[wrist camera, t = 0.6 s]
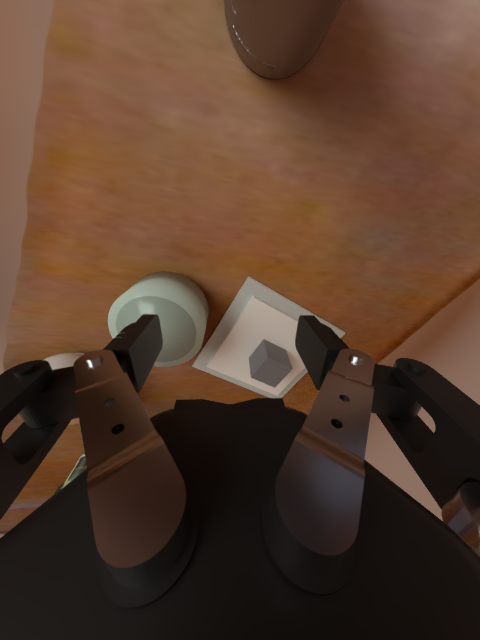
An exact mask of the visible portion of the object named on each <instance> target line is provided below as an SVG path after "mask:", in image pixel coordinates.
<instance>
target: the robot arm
mask: <svg viewBox="0 0 480 640" xmlns="http://www.w3.org/2000/svg"><path fill="white" fill-rule="evenodd" d="M343 2H344V0H224V3H225V16H226V20H227V25H228V30H229V33H230V36H231V39H232V42H233V44H234V47H235V49H236V50H237V52H238V54H239V56H240V57H241V59H242V60H243V61H244V63H245V64H246V65H247V66H248V67H249V68H250V69H251V70H253V71H254V72H255V73H257V74H258V75H260V76H263V77H266V78H269V79H280V78H284V77H288V76H290V75H292V74H293V73H295V72H297V71H299V70H300V69H301V68H302V67H303V66H304V65H305V64H306V63H307V62H308V61H309V60H310V58H311V57H312V56H313V54H314V53H315V52H316V50H317V48H318V47H319V45H320V43H321V41H322V39H323V38H324V36H325V34H326V32H327V30H328V29H329V27H330V25H331V23H332V21H333V20H334V18H335V16H336V15H337V13H338V11H339V9H340V7H341V6H342V4H343ZM162 345H163V338H162V332H161V326H160V320H159V316H158V315H157V314H143V315H142V316H141V317H140V318H139V319H138V320H137V321H136V322H135V323H131V324H130V325H128V326H126V327H124V328H123V329H122V330H121V332H120V333H119V334H118V335H117V336H116V338H114V339H113V340H112V341H111V342H110V343H109V344H108V345H107V346H106V347H105V348H104V349H103V350H96V351H92V352H89V353H87V354H84V355H82V356H81V357H79V358H78V359H77V360H76V361H75V362H74V364H73V366H71V367H65V368H60V369H55V370H52V368H51V366H50V364H49V362H48V361H45V360H35V361H29V362H26V363H22V364H19V365H17V366H15V367H12V368H10V369H9V370H7V371H5V372H4V373H3V374H1V375H0V520H1V518H2V517H3V516H4V514H5V513H6V511H7V510H8V509H9V507H10V506H11V504H12V503H13V501H14V500H15V499H16V497H17V496H18V494H19V493H20V492H21V490H22V489H23V487H24V486H25V485H26V483H27V482H28V480H29V479H30V478H31V476H32V475H33V473H34V472H35V471H36V469H37V468H38V466H39V465H40V464H41V462H42V461H43V459H44V458H45V457H46V455H47V454H48V452H49V451H50V450H51V448H52V447H53V445H54V444H55V443H56V441H57V440H58V438H59V437H60V436H61V434H62V433H63V431H64V430H65V428H66V427H67V426H68V424H69V423H70V421H71V420H72V419H76V418H79V422H80V428H81V434H82V440H83V446H84V452H85V458H86V464H87V469H86V470H84V471H83V472H82V473H81V474H79V475H78V476H77V477H76V478H74V479H73V480H72V481H71V482H69V483H68V484H67V485H66V486H65V487H63V488H62V489H61V490H60V491H58V492H57V493H56V494H55V495H53V496H52V497H51V498H50V499H48V500H47V501H46V502H45V503H43V504H42V505H41V506H40V507H39V508H37V509H36V510H35V511H34V512H32V513H31V514H30V515H29V516H27V517H26V518H25V519H24V520H22V521H21V522H20V523H19V524H17V525H16V526H15V527H14V528H13V529H11V530H10V531H9V532H8V533H6V534H5V535H4V536H3V537H1V538H0V640H480V405H478V404H477V403H476V402H475V401H473V400H472V399H471V398H470V397H468V396H467V395H466V394H464V393H463V392H462V391H461V390H459V389H458V388H457V387H455V386H454V385H453V384H452V383H451V382H449V381H448V380H447V379H445V378H444V377H443V376H442V375H440V374H439V373H438V372H437V371H435V370H434V369H433V368H431V367H430V366H428V365H426V364H424V363H422V362H419V361H417V360H413V359H408V358H400V359H397V360H396V362H395V364H394V366H393V367H390V366H384V365H379V364H375V361H374V359H373V358H372V357H371V356H370V355H368V354H366V353H364V352H362V351H359V350H356V349H350V348H349V347H348V346H347V345H346V344H345V343H344V342H343V341H342V340H341V339H340V338H339V336H338V335H337V334H335V332H334V331H333V330H332V329H331V328H330V327H328V326H327V325H325V324H323V323H320V321H319V320H318V319H317V318H316V317H315V316H314V315H300V317H299V319H298V325H297V331H296V337H295V346H296V350H297V352H298V354H299V356H300V358H301V359H302V361H303V363H304V365H305V367H306V369H307V371H308V373H309V375H310V377H311V379H312V381H313V383H314V385H315V387H316V389H317V390H319V392H318V395H317V397H316V399H315V401H314V403H313V405H312V407H311V409H310V412H309V414H308V415H306V414H304V413H302V412H300V411H298V410H296V409H293V408H289V407H285V405H284V402H283V399H282V398H257V399H252V400H248V401H244V402H240V403H235V404H224V403H219V402H214V401H209V400H204V399H196V400H176V403H175V406H174V409H170V410H167V411H164V412H162V413H159V414H157V415H155V416H153V417H152V418H149V416H148V414H147V412H146V410H145V408H144V406H143V404H142V402H141V401H140V399H139V397H138V395H137V393H136V392H140V390H141V388H142V386H143V384H144V382H145V380H146V378H147V376H148V374H149V373H150V371H151V369H152V367H153V365H154V363H155V361H156V359H157V357H158V355H159V353H160V351H161V349H162ZM421 407H423V408H424V409H425V410H426V411H427V412H428V414H430V416H431V417H432V418H433V420H434V422H435V426H436V429H435V432H434V433H433V432H432V431H431V430H430V429H429V427H428V426H427V425H426V424H425V423H424V422H423V421H422V420H421V418H420V417H419V416H418V415H417V414H418V412H419V410H420V409H421ZM371 412H372V413H376V414H377V416H378V417H379V419H380V420H381V422H382V423H383V425H384V426H385V427H386V429H387V430H388V432H389V433H390V435H391V436H392V438H393V439H394V441H395V442H396V444H397V445H398V447H399V448H400V449H401V451H402V452H403V454H404V455H405V457H406V458H407V460H408V461H409V463H410V464H411V465H412V467H413V469H414V470H415V471H416V473H417V474H418V476H419V477H420V478H421V480H422V482H423V483H424V484H425V486H426V488H427V489H428V490H429V492H430V493H431V495H432V496H433V498H434V499H435V501H436V502H437V504H438V505H439V507H440V508H441V510H442V518H443V521H441V520H440V519H439V518H438V517H436V516H435V515H434V514H433V513H431V512H430V511H429V510H427V509H426V508H425V507H424V506H422V505H421V504H420V503H419V502H417V501H416V500H415V499H413V498H412V497H411V496H410V495H409V494H407V493H406V492H405V491H404V490H402V489H401V488H400V487H398V486H397V485H396V484H395V483H393V482H392V481H390V480H389V479H388V478H387V477H386V476H385V475H383V474H382V473H381V472H379V471H378V470H377V469H376V468H374V467H373V466H372V465H371V464H369V463H368V462H367V461H366V460H364V457H365V450H366V443H367V436H368V429H369V422H370V415H371ZM18 413H19V414H20V415H21V417H22V419H23V420H24V422H23V423H22V424H21V425H20V426H19V428H18V429H17V430H16V431H15V432H14V433H13V434H12V435H11V436H10V437H9V438H8V439H7V440H6V441H5V442H4V444H3V442H2V439H1V437H2V432H3V430H4V428H5V427H6V425H7V424H8V423H9V422H10V421H11V420H12V419H13V418H14V417H15V416H16V415H17V414H18Z"/></svg>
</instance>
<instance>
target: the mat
mask: <svg viewBox="0 0 480 640" xmlns="http://www.w3.org/2000/svg"><path fill="white" fill-rule="evenodd" d="M253 295H254V296H256V297H258V298H260V299H262V300H263V301H265V302H267V303H269V304H271V305H272V306H274V307H276V308H278V309H280V310H281V311H283V312H285V313H287V314H289V315H290V316H292V317H294V318H296V319H299V317H300V315H314V316H315V317H316V318H317V319H318V320H319V321H320V323H323V324H325V325H327V326H328V327H330V328H331V329H332V330H333V331H334V332H335V334H337V335H338V336H339V338H340V339H341V338H342V337H343V336H344V334H345V333H346V332H344V331H342V330H341V329H339V328H337V327H336V326H334V325H332V324H330V323H329V322H327V321H325V320H324V319H322V318H320V317H318V316H317V315H315V314H313V313H311V312H310V311H308V310H306V309H305V308H303V307H301V306H299V305H298V304H296V303H294V302H293V301H291V300H289V299H287V298H286V297H284V296H282V295H280V294H279V293H277V292H275V291H274V290H272V289H270V288H268V287H267V286H265V285H263V284H262V283H260V282H258V281H256V280H255V279H253V278H251V277H250V276H248V278H247V280H246V281H245V283H244V284H243V286H242V288H241V289H240V291H239V292H238V294H237V295H236V297H235V299H234V300H233V302H232V303H231V305H230V307H229V308H228V310H227V311H226V313H225V315H224V316H223V318H222V319H221V321H220V322H219V324H218V326H217V327H216V329H215V330H214V332H213V334H212V335H211V337H210V338H209V340H208V341H207V343H206V345H205V346H204V348H203V349H202V351H201V353H200V354H199V356H198V357H197V359H196V361H195V362H194V364H193V365H192V367H195V368H197V369H200V370H202V371H205V372H207V373H210V374H212V375H215V376H217V377H220V378H222V379H225V380H227V381H230V382H232V383H235V384H237V385H240V386H242V387H245V388H247V389H250V390H252V391H255V392H257V393H259V394H262V395H264V396H267V397H269V398H282V397H283V396H284V395H285V394H286V393H287V392H288V391H289V390H290V389H291V388H292V387H293V386H294V385H295V384H296V383H297V382H298V381H299V380H300V379H301V378H302V377H303V376H304V375H305V374H306V373H307V372H308V371H307V369H306V367H305V368H304V369H303V370H302V371H301V372H300V373H299V374H298V375H297V376H296V377H295V378H294V379H293V380H292V381H291V382H290V383H289V384H288V385H287V386H286V387H285V388H284V389H283V390H282V391H281V392H280V393H279V394H278V395H277V396H276V395H274V394H271V393H269V392H266V391H264V390H262V389H259V388H257V387H254V386H252V385H249V384H247V383H244V382H242V381H240V380H237V379H235V378H232V377H230V376H227V375H225V374H222V373H220V372H218V371H215V370H213V369H210V368H208V367H207V363H208V361H209V360H210V358H211V357H212V356H213V354H214V353H215V351H216V350H217V348H218V347H219V345H220V344H221V342H222V341H223V339H224V338H225V336H226V335H227V333H228V332H229V330H230V329H231V327H232V326H233V324H234V323H235V321H236V320H237V318H238V317H239V315H240V314H241V312H242V311H243V309H244V308H245V306H246V305H247V303H248V302H249V300H250V299H251V297H252V296H253Z"/></svg>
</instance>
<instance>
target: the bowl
mask: <svg viewBox="0 0 480 640" xmlns="http://www.w3.org/2000/svg"><path fill="white" fill-rule="evenodd" d="M143 314H157V315H158V316H159V320H160V326H161V332H162V338H163V345H162V349H161V351H160V353H159V355H158V357H157V359H156V361H155V363H154V365H153V366H157V367H171V366H176V365H180V364H183V363H185V362H187V361H189V360H190V359H192V358H193V357H194V356H195V355H196V354H197V353H198V351H199V350H200V348H201V346H202V343H203V339H204V335H205V330H206V325H207V320H208V315H209V307H208V302H207V299H206V297H205V295H204V293H203V292H202V290H201V289H200V288H199V287H198V286H197V285H196V284H195V283H194V282H193V281H191V280H190V279H188V278H186V277H184V276H182V275H180V274H177V273H173V272H155V273H152V274H149V275H147V276H145V277H143V278H142V279H140V280H139V281H138V282H137V283H136V284H134V285H133V286H132V287H131V288H130V289H128V290H127V291H126V292H125V293H124V294H122V295H121V296H120V297H119V298H118V299H117V300H116V301H115V302H114V303H113V305H112V306H111V309H110V311H109V315H108V327H109V331H110V333H111V336H112V338H113V339H114V338H116V336H117V335H118V334H119V333H120V332H121V330H122V329H123V328H124V327H126V326H128V325H130V324H131V323H135V322H136V321H137V320H138V319H139V318H140V317H141V316H142V315H143Z"/></svg>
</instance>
